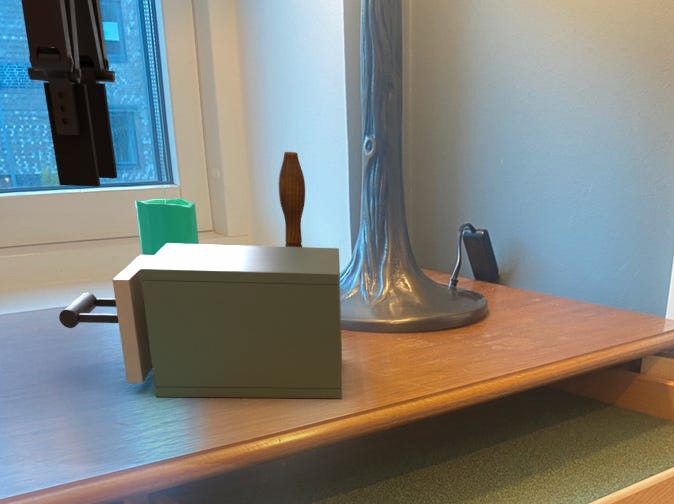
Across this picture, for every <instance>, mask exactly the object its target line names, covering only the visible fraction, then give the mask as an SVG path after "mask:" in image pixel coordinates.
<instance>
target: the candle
mask: <svg viewBox="0 0 674 504" xmlns="http://www.w3.org/2000/svg"><path fill="white" fill-rule="evenodd" d="M162 193H163V198H153V199H148V200H139V199H138V200H135V201H134V204H135V205H134V206H135V212H136V221H137V229H138V236H139V244H140V255H155V254H156V253H157V252H158V251H159V250H160V249H161V248H162V247H164V246H165V245H166V244H167V243H171V244H200V242H199V241H200V240H199V232H198V222H197V221H198V220H197V212H196V211H197V210H196V202H190V201H188V200H187V199H184V198H166V191H165V185H164V184H162Z"/></svg>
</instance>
